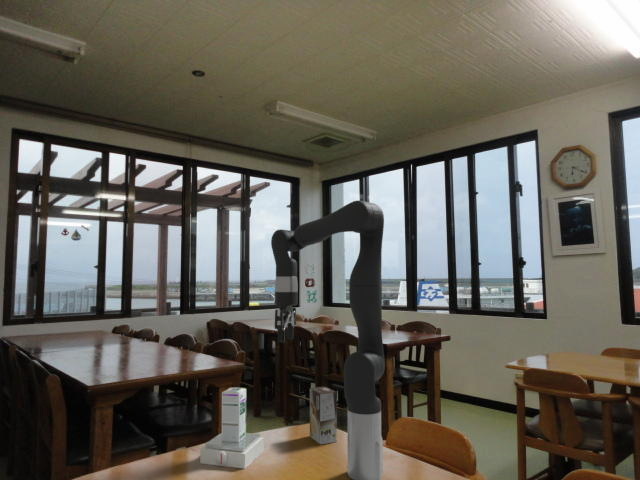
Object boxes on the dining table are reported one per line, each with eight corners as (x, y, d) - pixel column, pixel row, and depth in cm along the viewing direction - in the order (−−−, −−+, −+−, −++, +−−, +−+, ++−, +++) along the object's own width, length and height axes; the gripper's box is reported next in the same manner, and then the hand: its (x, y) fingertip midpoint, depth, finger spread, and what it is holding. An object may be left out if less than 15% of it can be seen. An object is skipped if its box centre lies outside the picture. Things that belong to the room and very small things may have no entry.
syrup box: (239, 443, 131) (240, 392, 133) (220, 441, 133) (221, 391, 134) (246, 436, 137) (247, 387, 138) (228, 435, 138) (229, 386, 139)
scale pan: (259, 437, 139) (259, 434, 139) (243, 451, 127) (243, 447, 127) (224, 433, 142) (224, 430, 142) (205, 447, 131) (205, 443, 131)
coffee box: (337, 442, 147) (337, 391, 148) (319, 445, 144) (320, 393, 146) (325, 433, 155) (325, 385, 157) (308, 436, 153) (308, 387, 154)
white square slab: (263, 450, 139) (264, 437, 140) (243, 469, 125) (244, 454, 125) (222, 446, 143) (223, 433, 143) (198, 464, 129) (199, 449, 129)
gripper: (290, 291, 139) (289, 344, 138) (303, 290, 153) (303, 338, 152) (267, 291, 141) (266, 343, 140) (282, 290, 155) (282, 337, 154)
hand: (285, 340), depth 146 cm, fingers open, 8 cm apart
